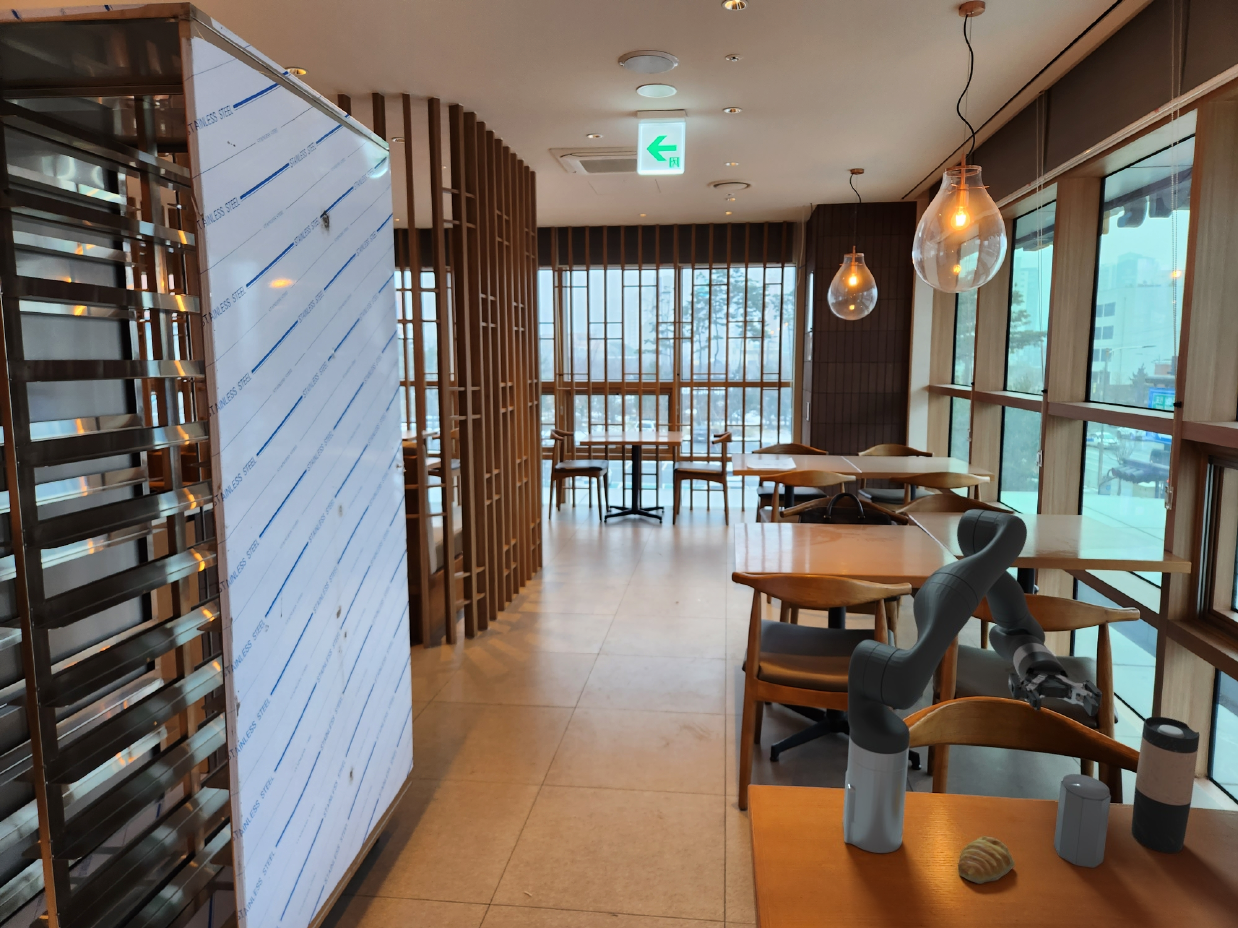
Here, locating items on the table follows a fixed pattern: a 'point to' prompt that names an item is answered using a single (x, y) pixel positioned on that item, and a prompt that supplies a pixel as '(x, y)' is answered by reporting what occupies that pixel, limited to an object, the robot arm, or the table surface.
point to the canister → (1082, 820)
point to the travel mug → (1164, 784)
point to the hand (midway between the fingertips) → (1066, 708)
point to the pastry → (985, 860)
